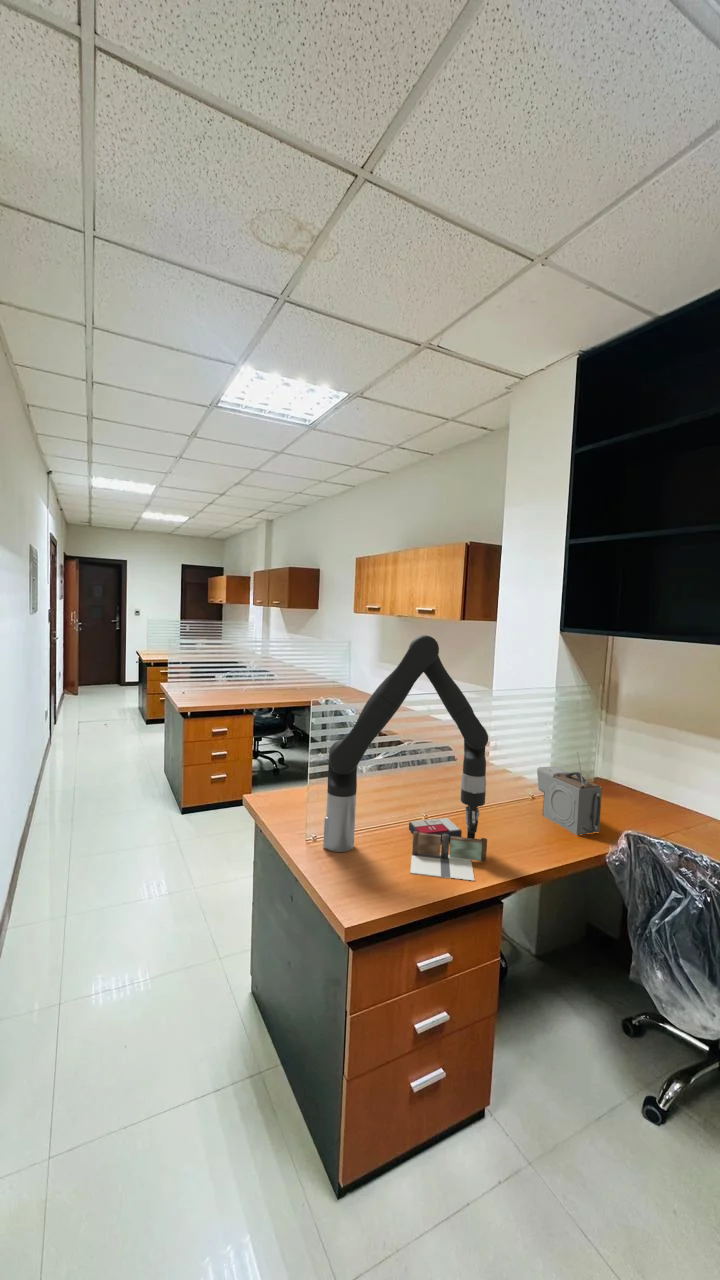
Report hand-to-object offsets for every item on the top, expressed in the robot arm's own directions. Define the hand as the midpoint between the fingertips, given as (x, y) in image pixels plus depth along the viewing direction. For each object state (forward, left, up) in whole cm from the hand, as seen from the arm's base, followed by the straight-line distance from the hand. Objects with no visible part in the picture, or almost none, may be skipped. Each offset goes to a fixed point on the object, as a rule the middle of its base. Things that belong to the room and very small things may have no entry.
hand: (470, 842), depth 151 cm
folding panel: (-1, -5, -3) cm, 6 cm away
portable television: (+38, +36, -4) cm, 52 cm away
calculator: (-11, +12, -4) cm, 17 cm away
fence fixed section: (-13, -5, -4) cm, 14 cm away
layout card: (-9, -10, -4) cm, 14 cm away
